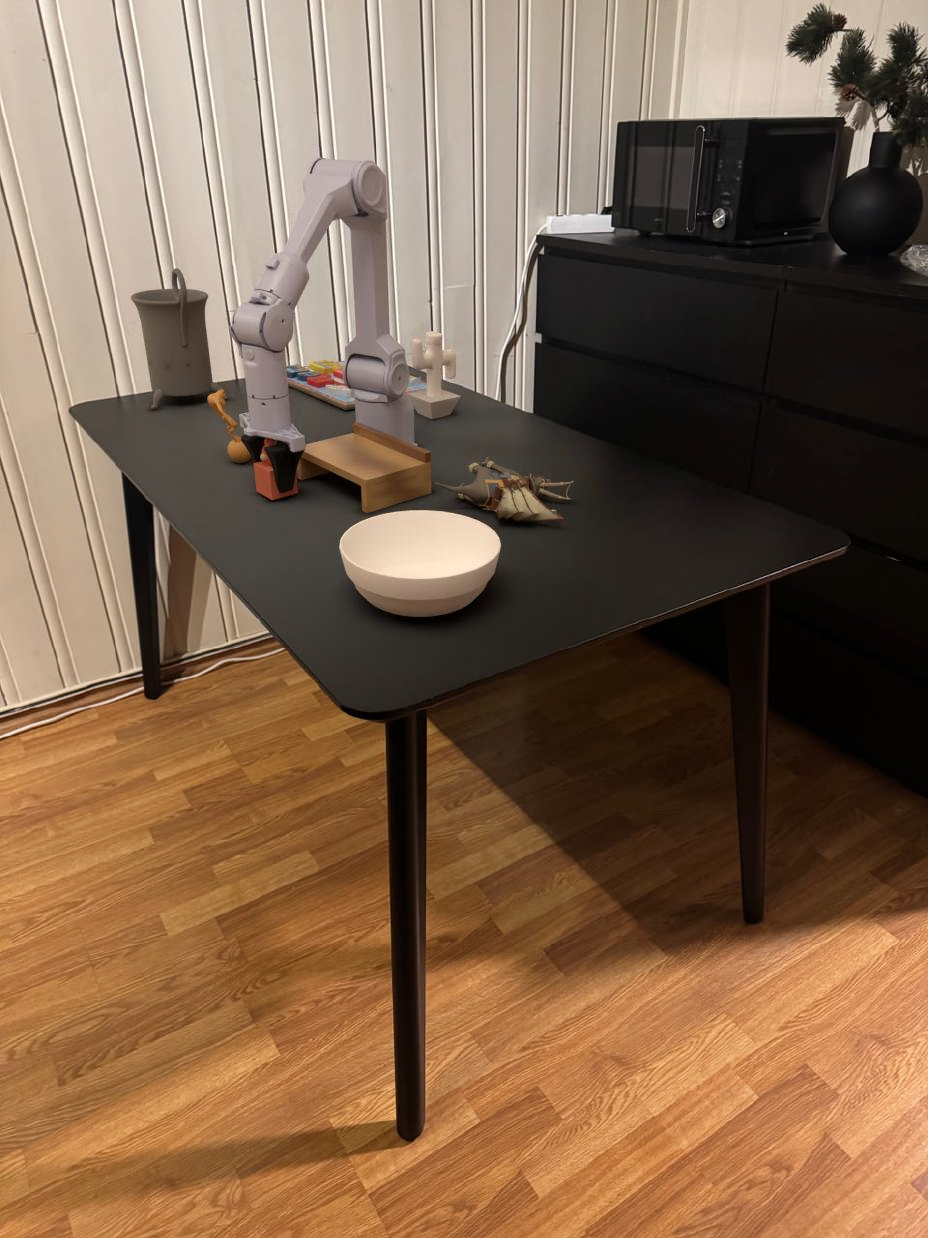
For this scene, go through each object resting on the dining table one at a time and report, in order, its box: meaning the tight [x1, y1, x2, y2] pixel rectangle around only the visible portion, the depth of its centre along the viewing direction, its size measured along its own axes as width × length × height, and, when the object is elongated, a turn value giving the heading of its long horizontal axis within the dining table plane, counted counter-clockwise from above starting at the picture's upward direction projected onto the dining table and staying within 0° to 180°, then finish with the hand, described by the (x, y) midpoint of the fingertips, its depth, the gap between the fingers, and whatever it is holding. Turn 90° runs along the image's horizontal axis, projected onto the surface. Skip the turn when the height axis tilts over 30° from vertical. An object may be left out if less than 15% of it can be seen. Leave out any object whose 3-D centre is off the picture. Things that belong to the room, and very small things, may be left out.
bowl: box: [338, 509, 502, 618], centre depth 100 cm, size 18×18×7 cm
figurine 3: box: [433, 456, 575, 523], centre depth 122 cm, size 20×6×17 cm
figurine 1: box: [207, 388, 252, 464], centre depth 136 cm, size 8×6×12 cm
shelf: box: [296, 422, 432, 514], centre depth 130 cm, size 12×18×6 cm, turn 42°
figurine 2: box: [407, 330, 462, 420], centre depth 160 cm, size 7×9×15 cm
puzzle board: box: [286, 359, 427, 411], centre depth 180 cm, size 30×23×3 cm
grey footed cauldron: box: [130, 267, 229, 410], centre depth 163 cm, size 19×15×25 cm
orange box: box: [253, 438, 299, 501], centre depth 126 cm, size 4×4×8 cm
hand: (276, 485), depth 127 cm, fingers closed on orange box, 4 cm apart
